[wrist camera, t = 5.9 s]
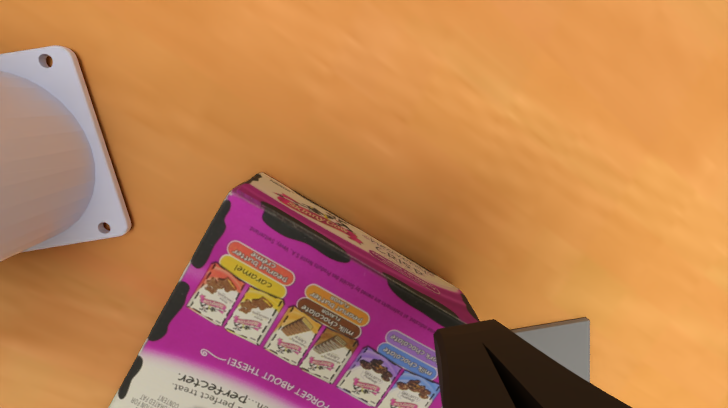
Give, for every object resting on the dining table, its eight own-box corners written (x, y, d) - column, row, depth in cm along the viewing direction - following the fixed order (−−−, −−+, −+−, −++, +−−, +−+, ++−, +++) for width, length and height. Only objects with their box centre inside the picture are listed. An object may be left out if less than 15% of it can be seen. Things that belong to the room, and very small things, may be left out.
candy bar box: (263, 166, 18) (108, 432, 20) (230, 182, 13) (30, 531, 15) (462, 286, 19) (294, 520, 22) (500, 342, 14) (277, 636, 17)
